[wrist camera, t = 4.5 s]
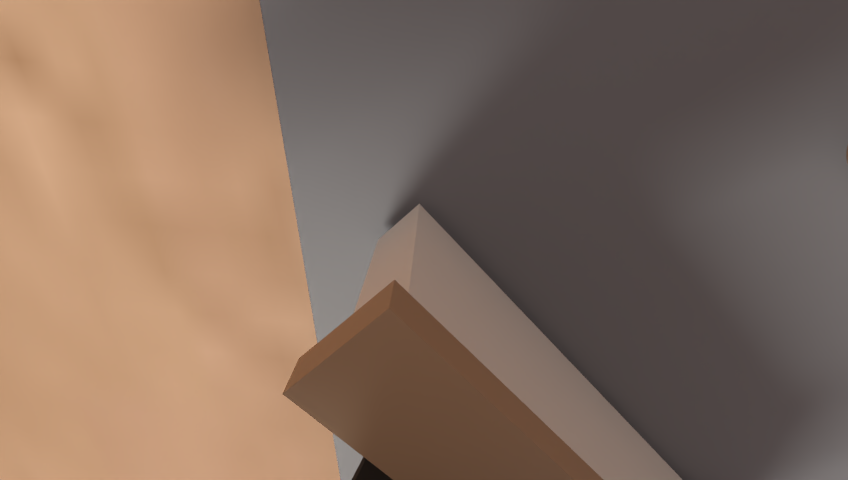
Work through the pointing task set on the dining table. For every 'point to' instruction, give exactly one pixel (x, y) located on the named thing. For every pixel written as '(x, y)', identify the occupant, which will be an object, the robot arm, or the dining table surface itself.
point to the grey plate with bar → (602, 195)
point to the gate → (459, 378)
